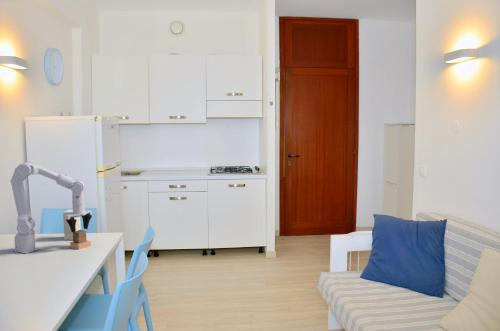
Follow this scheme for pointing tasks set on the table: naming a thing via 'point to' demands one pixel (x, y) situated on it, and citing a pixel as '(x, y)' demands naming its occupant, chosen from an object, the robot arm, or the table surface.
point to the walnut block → (79, 236)
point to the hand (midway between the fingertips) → (79, 230)
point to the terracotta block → (80, 245)
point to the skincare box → (67, 231)
